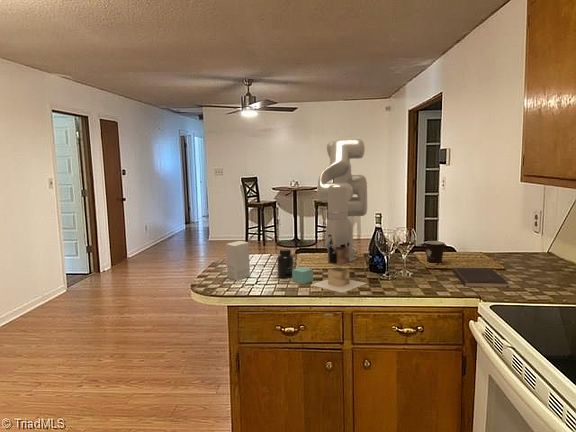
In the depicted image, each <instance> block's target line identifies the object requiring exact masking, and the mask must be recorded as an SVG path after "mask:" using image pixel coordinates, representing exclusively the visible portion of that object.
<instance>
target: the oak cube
mask: <svg viewBox="0 0 576 432" xmlns="http://www.w3.org/2000/svg"><path fill="white" fill-rule="evenodd" d="M327 279H328V284H329V285H333V286H337V287H342V286H345V285H347V284H349V279H350V268H345V267H341V266H335V267H331V268H329V269H327Z"/></svg>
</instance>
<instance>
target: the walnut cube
mask: <svg viewBox="0 0 576 432" xmlns="http://www.w3.org/2000/svg"><path fill="white" fill-rule="evenodd" d="M333 248H334V247H332V249H333ZM335 253H337V263H336V264H335V263H330V262H329V253H328V252H327V265H333V266H337V267H341V266H344V265H347V264H350V262H349V248H345V247H338V246H337V248H336V252H335Z"/></svg>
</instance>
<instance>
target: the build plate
mask: <svg viewBox="0 0 576 432" xmlns="http://www.w3.org/2000/svg"><path fill="white" fill-rule="evenodd" d="M367 284H368V282H364V281H358V280H353V279H350V278H349V284H347V285H345V286H342V287H337V286H333V285H329V284H328V278H327V279H324V280H322V281H321V280H320V281H318V282H314V283H312V284H310V286H314V287H318V288H321V289H324V290H330V291H334V292H339V293H341V294H342V293H346V292H348V291H350V290H354V289H357V288H359V287H361V286H363V285H364V286H365V285H367Z"/></svg>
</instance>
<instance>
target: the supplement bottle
mask: <svg viewBox="0 0 576 432" xmlns="http://www.w3.org/2000/svg"><path fill="white" fill-rule="evenodd" d="M291 251H292V250H291V249H290V248H282V249H281V248H280V249H279V255H278V257H277V277H278V278H280V279H291V278H292V270H293V269H294V257H293V256H292V255H291V254H292V252H291Z"/></svg>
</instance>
